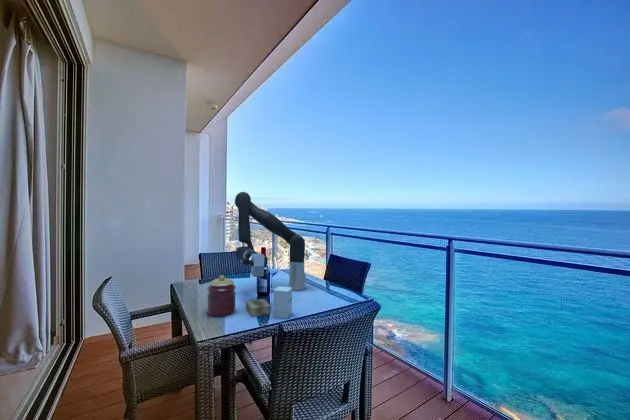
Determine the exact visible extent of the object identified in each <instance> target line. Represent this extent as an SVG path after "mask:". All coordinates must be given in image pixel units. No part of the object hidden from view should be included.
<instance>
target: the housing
mask: <svg viewBox="0 0 630 420" xmlns="http://www.w3.org/2000/svg"><path fill="white" fill-rule="evenodd" d="M264 257H265V255H264V254H263V253H258V254H251V260H252V261H253V262H254V266H250V275H251V276H252V277H253V278H258V277H264V276H265V266H264Z"/></svg>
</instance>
